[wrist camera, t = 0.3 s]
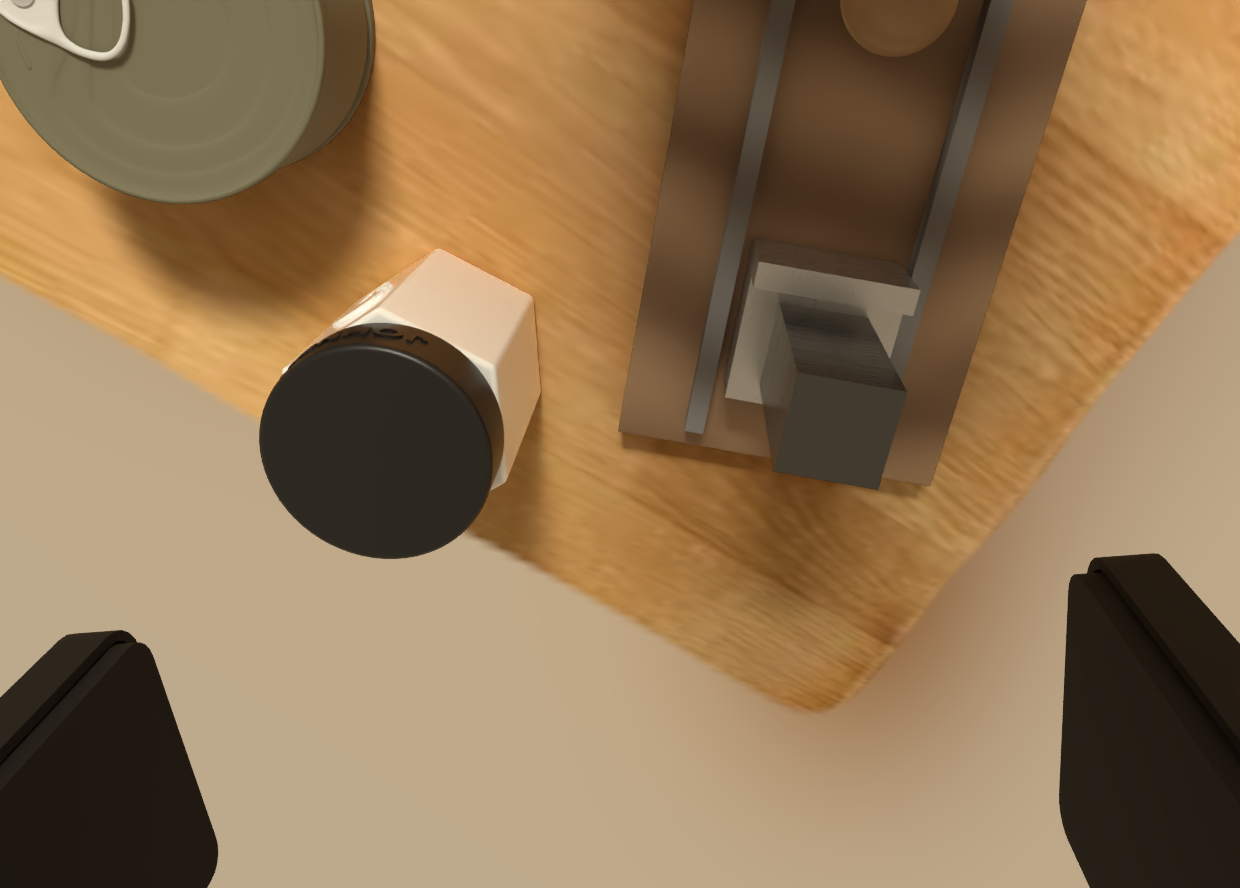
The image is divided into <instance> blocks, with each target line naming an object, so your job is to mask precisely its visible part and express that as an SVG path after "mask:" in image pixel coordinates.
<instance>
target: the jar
mask: <svg viewBox="0 0 1240 888" xmlns="http://www.w3.org/2000/svg"><path fill="white" fill-rule="evenodd" d="M540 393H541V387H540V375H539V363H538V350H537V338H536V325H535V312H534V300H533V297H532V296H531V295H529V294H527V293H525V292H523V291H522V290H520V289H518V288H516V287H514V286H512V285H510V284H508V283H506V282H504V281H502V280H500V279H498V278H496V277H495V276H493V275H491V274H489V273H487V272H485V271H483V270H481V269H479V268H477V267H475V266H473V265H471V264H470V263H468V262H466V261H464V260H462V259H460V258H458V257H456V256H454V255H452V254H450V253H448V252H446V251H445V250H443V249H435V250H434V251H432V252H431V253H429V254H427V255H426V256H424V257H423V258H421V259H420V260H418V261H417V262H415V263H414V264H412V265H411V266H409V267H408V268H406V269H405V270H403V271H402V272H400V273H398V274H397V275H395V276H394V277H392V278H391V279H389V280H388V281H386V282H385V283H383V284H382V285H380V286H379V287H377V288H376V289H374V290H373V291H371V292H370V293H368V294H366V295H365V296H363V297H362V298H360V299H359V300H358V301H357V302H356V303H355V304H353V305H352V306H351V307H350V308H349V309H348V310H347V311H346V312H345V313H344V314H342V315H341V316H340V317H339V318H337V319H336V320H335V321H334V322H333V324H332V325H330V326H329V327H328V328H327V329H326V330H325V331H324V332H323V333H322V334H321V335H319V336H318V337H317V338H316V339H315V340H314V341H313V342H312V343H311V344H310V345H309V346H307V347H306V348H305V349H304V350H303V351H302V352H301V353H300V354H299V355H298V356H296V357H295V358H294V359H293V360H292V361H291V362H290V363H289V364H288V365H287V366H285V367H284V368H283V370H282V376H281V378H280V379H279V381H278V382H277V383H276V385H275V386H274V388H273V390H272V391H271V393H270V395H269V397H268V399H267V402H266V404H265V407H264V410H263V413H262V417H261V423H260V432H259V443H260V453H261V458H262V463H263V466H264V470H265V473H266V475H267V478H268V480H269V482H270V484H271V486H272V488H273V490H274V492H275V493H276V495H277V497H278V498H279V500H280V501H281V503H282V504H283V505H284V507H285V508H286V509H287V511H288V512H289V513H290V514H291V515H292V516H293V517H294V518H295V519H296V520H297V521H298V522H299V523H300V524H301V525H302V526H303V527H305V528H306V529H307V530H309V531H310V532H311V533H313V534H314V535H316V536H317V537H319V538H320V539H322V540H323V541H325V542H327V543H329V544H331V545H333V546H335V547H337V548H340V549H342V550H345V551H348V552H350V553H354V554H358V555H361V556H367V557H372V558H382V559H399V558H408V557H414V556H419V555H422V554H426V553H429V552H432V551H434V550H436V549H439V548H441V547H443V546H445V545H446V544H448V543H450V542H451V541H453V540H454V539H456V538H457V537H458V536H459V535H461V534H462V533H463V532H464V531H465V530H466V529H467V528H468V527H469V526H470V525H471V524H472V522H473V521H474V520H475V519H476V517H477V516H478V514H479V513H480V511H481V509H482V508H483V506H484V504H485V502H486V499H487V497H488V494H489V492H490V491H491V490H493V489H495V488H497V487H498V486H500V485H502V484H504V483H505V482H506V481H507V479H508V476H509V473H510V471H511V468H512V466H513V463H514V460H515V458H516V455H517V453H518V450H519V448H520V445H521V442H522V440H523V437H524V435H525V432H526V429H527V427H528V424H529V422H530V419H531V417H532V414H533V411H534V409H535V406H536V404H537V401H538V399H539V396H540Z"/></svg>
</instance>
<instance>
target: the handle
mask: <svg viewBox="0 0 1240 888" xmlns="http://www.w3.org/2000/svg"><path fill="white" fill-rule="evenodd" d="M920 291H921V290H920V289H919V287H918V286H917V285H916V283H915V282H914V281H913V279H912V278H911V277H910V275H909V274H908V273H907V271H906V270H905V269H904V267H903V266H902V265H901V264H899V263H894V262H888V261H883V260H877V259H871V258H866V257H860V256H854V255H849V254H843V253H837V252H832V251H826V250H820V249H815V248H809V247H804V246H798V245H792V244H787V243H781V242H775V241H770V240H764V239H758V238H753V242H752V247H751V252H750V256H749V261H748V265H747V270H746V275H745V279H744V284H743V288H742V293H741V298H740V302H739V307H738V311H737V316H736V321H735V325H734V330H733V334H732V339H731V344H730V348H729V353H728V357H727V362H726V367H725V371H724V376H723V377H724V392H725V398H731V399H737V400H742V401H748V402H754V403H759V404H762V405H763V411H764V417H765V424H766V430H767V436H768V442H769V449H770V455H771V461H772V468H773V471H774V472H780V473H786V474H791V475H797V476H803V477H808V478H814V479H820V480H825V481H831V482H837V483H842V484H848V485H854V486H859V487H865V488H871V489H876V490H878V488H879V485H880V481H881V478H882V475H883V471H884V468H885V465H886V461H887V458H888V455H889V451H890V448H891V445H892V441H893V438H894V435H895V431H896V428H897V425H898V421H899V418H900V415H901V411H902V408H903V405H904V401H905V398H906V395H907V390H906V388H905V387H904V385H903V383H902V381H901V379H900V377H899V375H898V373H897V371H896V369H895V368H894V366H893V364H892V362H891V360H890V357H891V354H892V350H893V347H894V343H895V340H896V336H897V333H898V330H899V326H900V323H901V319H902V316H903V315H909V316H913V315H914V312H915V308H916V305H917V301H918V298H919V294H920Z"/></svg>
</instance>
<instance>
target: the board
mask: <svg viewBox="0 0 1240 888" xmlns="http://www.w3.org/2000/svg"><path fill="white" fill-rule="evenodd" d="M1086 1H1087V0H694V3H693V9H692V15H691V20H690V26H689V32H688V37H687V43H686V49H685V54H684V60H683V66H682V72H681V77H680V83H679V89H678V94H677V100H676V106H675V111H674V117H673V123H672V128H671V134H670V140H669V145H668V151H667V157H666V162H665V168H664V174H663V179H662V185H661V191H660V196H659V202H658V208H657V213H656V219H655V225H654V231H653V236H652V242H651V248H650V253H649V259H648V265H647V270H646V276H645V282H644V287H643V293H642V299H641V304H640V310H639V316H638V321H637V327H636V333H635V338H634V344H633V350H632V355H631V361H630V367H629V372H628V378H627V384H626V390H625V395H624V401H623V407H622V412H621V418H620V424H619V429H618V431H619V432H624V433H630V434H636V435H641V436H647V437H653V438H658V439H664V440H670V441H675V442H681V443H687V444H692V445H698V446H704V447H709V448H715V449H721V450H726V451H732V452H738V453H743V454H749V455H755V456H760V457H766V458H771V455H770V449H769V442H768V436H767V430H766V424H765V417H764V411H763V405H762V404H759V403H754V402H748V401H742V400H737V399H731V398H725V392H724V377H723V376H724V371H725V367H726V362H727V357H728V353H729V348H730V344H731V339H732V334H733V330H734V325H735V321H736V316H737V311H738V307H739V302H740V298H741V293H742V288H743V284H744V279H745V275H746V270H747V265H748V261H749V256H750V252H751V247H752V242H753V238H758V239H764V240H770V241H775V242H781V243H787V244H792V245H798V246H804V247H809V248H815V249H820V250H826V251H832V252H837V253H843V254H849V255H854V256H860V257H866V258H871V259H877V260H883V261H888V262H894V263H899V264H901V265H902V266H903V267H904V269H905V270H906V271H907V273H908V274H909V275H910V277H911V278H912V279H913V281H914V282H915V283H916V285H917V286H918V287H919V289H920V290H921V291H920V294H919V298H918V301H917V305H916V308H915V312H914V315H913V316H909V315H903V316H902V319H901V323H900V326H899V330H898V333H897V336H896V340H895V343H894V347H893V350H892V354H891V357H890V360H891V362H892V364H893V366H894V368H895V369H896V371H897V373H898V375H899V377H900V379H901V381H902V383H903V385H904V387H905V388H906V390H907V395H906V398H905V401H904V405H903V408H902V411H901V415H900V418H899V421H898V425H897V428H896V431H895V435H894V438H893V441H892V445H891V448H890V451H889V455H888V458H887V461H886V465H885V468H884V471H883V475H882V478H885V479H890V480H896V481H902V482H907V483H913V484H919V485H924V486H930V485H931V482H932V479H933V476H934V473H935V470H936V467H937V464H938V460H939V457H940V454H941V451H942V448H943V445H944V442H945V439H946V436H947V433H948V429H949V426H950V423H951V420H952V417H953V414H954V411H955V408H956V405H957V401H958V398H959V395H960V392H961V389H962V386H963V383H964V380H965V377H966V374H967V370H968V367H969V364H970V361H971V358H972V355H973V352H974V349H975V346H976V343H977V339H978V336H979V333H980V330H981V327H982V324H983V321H984V318H985V315H986V311H987V308H988V305H989V302H990V299H991V296H992V293H993V290H994V287H995V284H996V280H997V277H998V274H999V271H1000V268H1001V265H1002V262H1003V259H1004V256H1005V252H1006V249H1007V246H1008V243H1009V240H1010V237H1011V234H1012V231H1013V228H1014V225H1015V221H1016V218H1017V215H1018V212H1019V209H1020V206H1021V203H1022V200H1023V197H1024V194H1025V190H1026V187H1027V184H1028V181H1029V178H1030V175H1031V172H1032V169H1033V166H1034V162H1035V159H1036V156H1037V153H1038V150H1039V147H1040V144H1041V141H1042V138H1043V135H1044V131H1045V128H1046V125H1047V122H1048V119H1049V116H1050V113H1051V110H1052V107H1053V103H1054V100H1055V97H1056V94H1057V91H1058V88H1059V85H1060V82H1061V79H1062V76H1063V72H1064V69H1065V66H1066V63H1067V60H1068V57H1069V54H1070V51H1071V48H1072V45H1073V41H1074V38H1075V35H1076V32H1077V29H1078V26H1079V23H1080V20H1081V17H1082V13H1083V10H1084V7H1085V4H1086Z"/></svg>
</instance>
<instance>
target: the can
mask: <svg viewBox="0 0 1240 888" xmlns="http://www.w3.org/2000/svg"><path fill="white" fill-rule="evenodd" d="M374 50H375V22H374V12H373V6H372V1H371V0H0V79H1V81H2V83H3V85H4V87H5V89H6V91H7V92H8V94H9V96H10V97H11V99H12V100H13V102H14V104H15V105H16V107H17V108H18V109H19V111H20V112H21V114H22V115H23V116H24V118H25V119H26V120H27V122H28V123H29V124H30V125H31V126H32V128H33V129H34V130H35V131H36V132H37V133H38V135H39V136H40V137H41V138H42V139H43V140H44V141H45V142H46V143H47V144H48V145H49V146H50V147H51V148H52V149H53V150H55V151H56V152H57V153H58V154H59V155H60V156H61V157H63V158H64V159H65V160H66V161H68V162H69V163H70V164H72V165H73V166H74V167H76V168H77V169H78V170H80V171H81V172H83V173H85V174H86V175H88V176H90V177H91V178H93V179H94V180H96V181H98V182H100V183H102V184H104V185H106V186H108V187H110V188H112V189H115V190H117V191H120V192H122V193H125V194H128V195H131V196H134V197H137V198H141V199H145V200H150V201H155V202H161V203H170V204H195V203H205V202H210V201H215V200H220V199H223V198H226V197H229V196H232V195H235V194H238V193H240V192H242V191H244V190H246V189H249V188H251V187H252V186H254V185H256V184H257V183H259V182H261V181H262V180H264V179H266V178H267V177H268V176H269V175H271V174H272V173H273V172H275V171H276V170H278V169H280V168H283V167H285V166H287V165H289V164H292V163H295V162H297V161H300V160H302V159H304V158H306V157H308V156H310V155H312V154H313V153H315V152H317V151H318V150H320V149H321V148H323V147H324V146H325V145H327V144H328V143H329V142H331V141H332V140H333V139H334V138H335V137H336V136H337V135H338V134H339V133H340V132H341V131H342V129H343V128H344V127H345V126H346V125H347V123H348V122H349V121H350V119H351V118H352V116H353V115H354V113H355V112H356V110H357V108H358V106H359V104H360V102H361V100H362V98H363V96H364V93H365V90H366V88H367V85H368V82H369V78H370V75H371V71H372V65H373V60H374Z"/></svg>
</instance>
